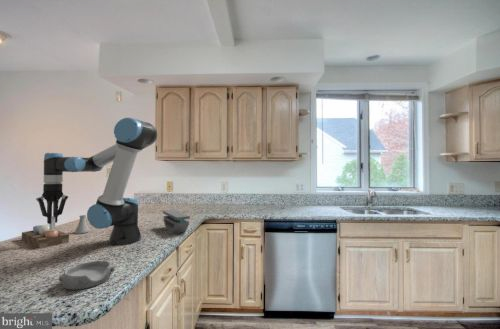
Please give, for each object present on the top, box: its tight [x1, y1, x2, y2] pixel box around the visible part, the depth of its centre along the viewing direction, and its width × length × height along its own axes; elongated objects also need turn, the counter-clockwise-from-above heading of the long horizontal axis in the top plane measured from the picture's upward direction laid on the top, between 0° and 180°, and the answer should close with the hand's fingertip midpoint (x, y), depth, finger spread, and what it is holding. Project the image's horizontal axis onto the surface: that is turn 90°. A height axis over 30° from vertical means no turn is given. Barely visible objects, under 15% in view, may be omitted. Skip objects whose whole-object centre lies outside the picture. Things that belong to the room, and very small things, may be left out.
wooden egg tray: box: [21, 230, 70, 249], centre depth 127 cm, size 24×12×4 cm, turn 58°
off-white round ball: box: [38, 224, 49, 236], centre depth 128 cm, size 5×5×5 cm
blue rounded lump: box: [32, 224, 42, 233], centre depth 132 cm, size 5×5×5 cm
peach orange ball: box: [45, 229, 59, 238], centre depth 123 cm, size 5×5×5 cm
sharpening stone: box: [162, 209, 191, 235], centre depth 152 cm, size 25×8×11 cm, turn 37°
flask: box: [74, 214, 91, 234], centre depth 145 cm, size 7×7×10 cm
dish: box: [58, 260, 116, 290], centre depth 84 cm, size 14×14×5 cm
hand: (52, 229), depth 123 cm, fingers closed
